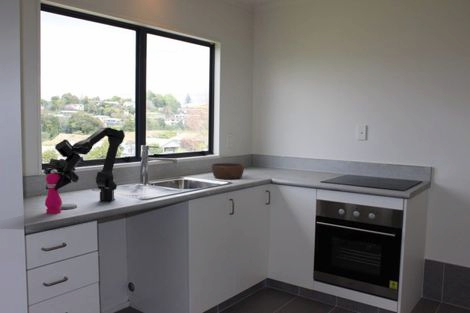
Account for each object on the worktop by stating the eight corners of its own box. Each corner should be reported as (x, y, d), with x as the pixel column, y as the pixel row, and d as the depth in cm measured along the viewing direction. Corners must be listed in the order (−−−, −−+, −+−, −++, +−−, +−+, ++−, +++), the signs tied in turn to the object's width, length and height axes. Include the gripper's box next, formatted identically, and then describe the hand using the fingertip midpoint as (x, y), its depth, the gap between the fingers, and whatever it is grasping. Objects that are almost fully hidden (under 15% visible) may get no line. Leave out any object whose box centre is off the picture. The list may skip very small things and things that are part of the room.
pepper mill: (52, 210, 196) (51, 168, 194) (65, 211, 194) (64, 169, 192) (41, 213, 189) (40, 170, 187) (54, 214, 187) (53, 171, 185)
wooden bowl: (206, 176, 322) (206, 163, 321) (235, 175, 332) (235, 162, 331) (219, 181, 299) (219, 167, 298) (249, 179, 309) (249, 165, 309)
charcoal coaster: (80, 205, 207) (80, 204, 207) (71, 210, 197) (71, 208, 197) (61, 205, 207) (61, 203, 207) (50, 209, 197) (50, 207, 197)
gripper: (46, 151, 197) (25, 177, 188) (73, 153, 188) (52, 180, 179) (60, 166, 204) (41, 191, 195) (87, 168, 195) (68, 195, 187)
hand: (50, 189), depth 189 cm, fingers closed on pepper mill, 5 cm apart
